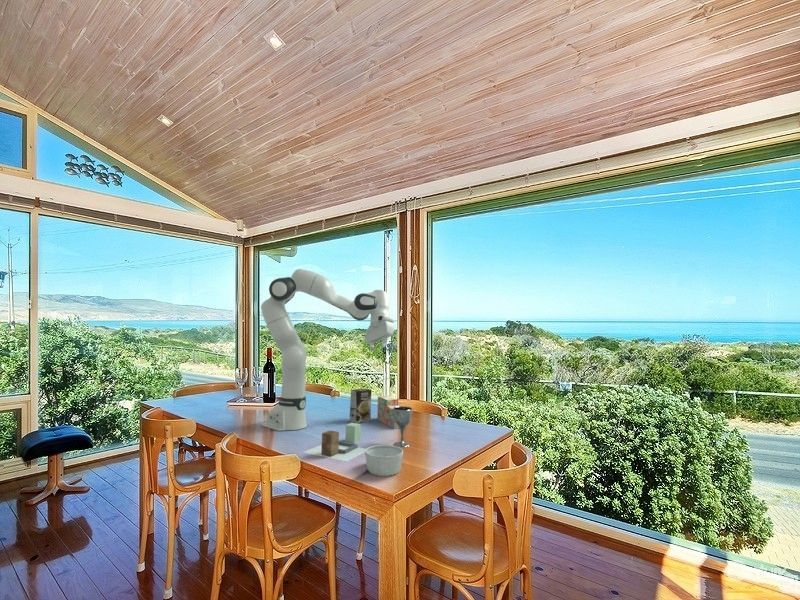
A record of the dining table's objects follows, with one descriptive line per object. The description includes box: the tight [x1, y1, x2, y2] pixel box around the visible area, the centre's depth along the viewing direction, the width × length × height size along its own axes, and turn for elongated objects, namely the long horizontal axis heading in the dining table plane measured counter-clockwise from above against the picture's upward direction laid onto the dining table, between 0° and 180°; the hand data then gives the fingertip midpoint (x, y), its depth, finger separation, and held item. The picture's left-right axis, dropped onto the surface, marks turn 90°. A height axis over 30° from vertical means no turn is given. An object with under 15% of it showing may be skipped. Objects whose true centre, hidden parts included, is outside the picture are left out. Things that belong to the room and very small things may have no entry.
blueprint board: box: [302, 440, 367, 462], centre depth 156 cm, size 20×16×2 cm
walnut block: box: [321, 429, 340, 457], centre depth 153 cm, size 4×4×8 cm
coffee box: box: [349, 388, 372, 424], centre depth 209 cm, size 9×6×16 cm
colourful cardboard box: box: [376, 395, 400, 430], centre depth 206 cm, size 21×6×12 cm, turn 26°
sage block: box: [344, 422, 362, 444], centre depth 170 cm, size 4×4×8 cm
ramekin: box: [364, 444, 404, 477], centre depth 140 cm, size 13×13×7 cm
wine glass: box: [393, 405, 413, 448], centre depth 171 cm, size 8×8×15 cm
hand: (377, 348), depth 196 cm, fingers open, 8 cm apart
